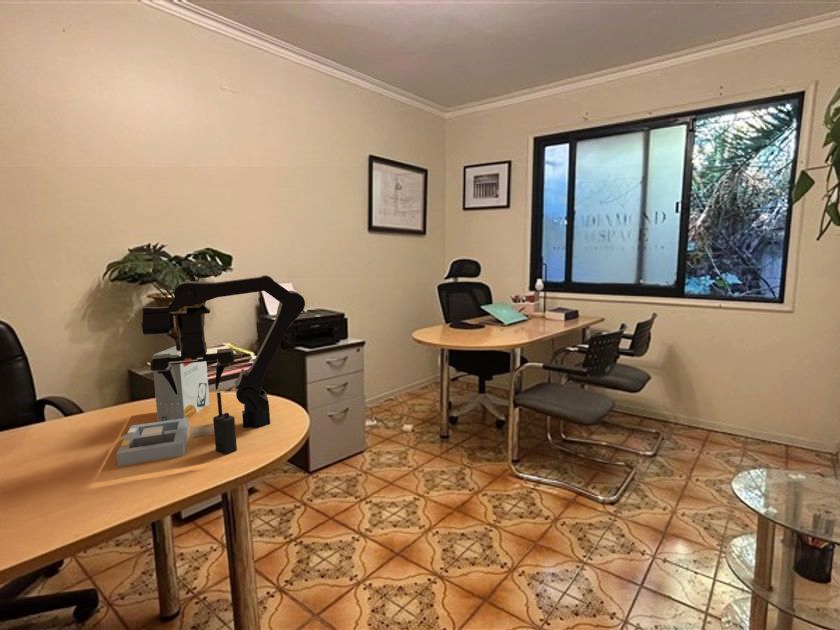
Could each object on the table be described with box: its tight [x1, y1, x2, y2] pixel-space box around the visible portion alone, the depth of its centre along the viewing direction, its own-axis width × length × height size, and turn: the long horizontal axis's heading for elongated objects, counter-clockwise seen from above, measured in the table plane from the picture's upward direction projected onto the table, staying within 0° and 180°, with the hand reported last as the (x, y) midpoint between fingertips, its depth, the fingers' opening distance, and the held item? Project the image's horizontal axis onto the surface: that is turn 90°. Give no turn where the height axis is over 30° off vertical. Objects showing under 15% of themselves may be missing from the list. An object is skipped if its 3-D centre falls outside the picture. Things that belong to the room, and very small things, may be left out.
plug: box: [141, 426, 165, 446], centre depth 108 cm, size 4×4×5 cm
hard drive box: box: [151, 345, 211, 422], centre depth 132 cm, size 16×8×20 cm, turn 179°
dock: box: [116, 418, 190, 467], centre depth 112 cm, size 13×17×4 cm
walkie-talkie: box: [212, 391, 238, 455], centre depth 108 cm, size 5×3×15 cm
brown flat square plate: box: [189, 423, 215, 439], centre depth 121 cm, size 7×8×1 cm
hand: (197, 391), depth 118 cm, fingers open, 9 cm apart
